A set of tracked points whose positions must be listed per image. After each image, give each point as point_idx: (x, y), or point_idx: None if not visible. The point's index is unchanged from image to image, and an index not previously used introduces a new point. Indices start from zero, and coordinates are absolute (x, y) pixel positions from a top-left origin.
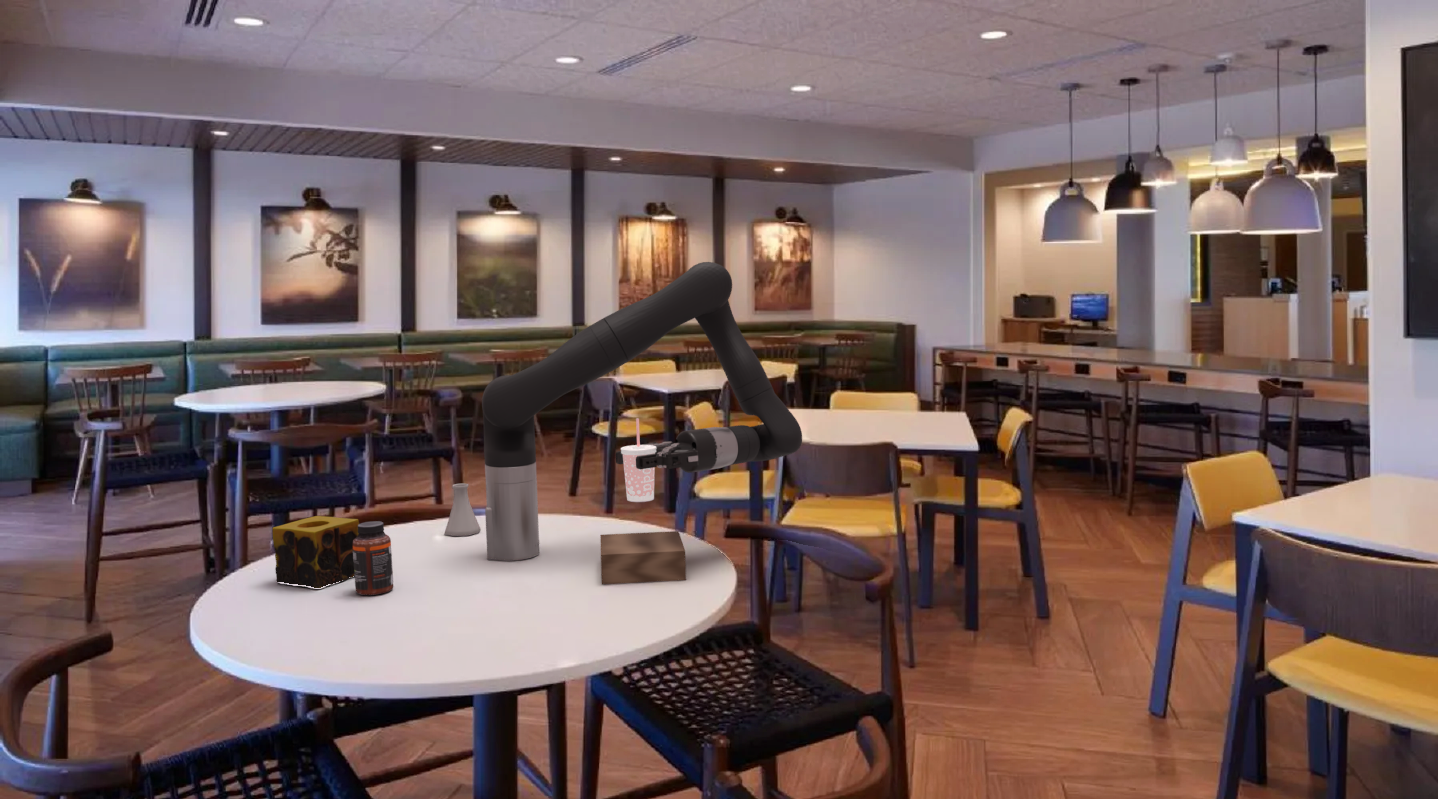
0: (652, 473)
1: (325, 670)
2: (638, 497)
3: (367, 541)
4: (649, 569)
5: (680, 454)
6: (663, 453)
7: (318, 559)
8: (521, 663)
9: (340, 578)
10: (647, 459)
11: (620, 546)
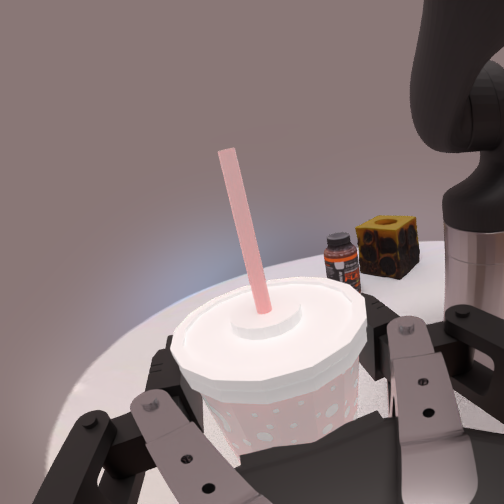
0: (234, 450)
1: (183, 304)
2: None
3: (325, 249)
4: None
5: (54, 470)
6: (132, 412)
7: (362, 250)
8: (103, 369)
9: (378, 272)
10: (152, 366)
11: None
